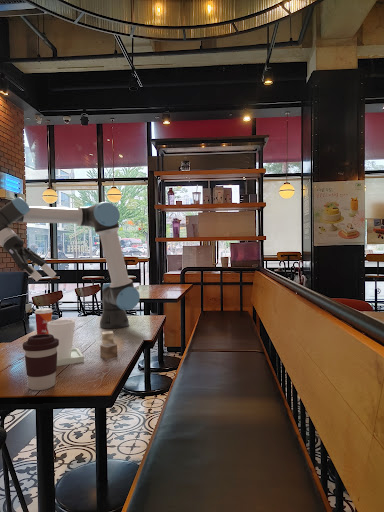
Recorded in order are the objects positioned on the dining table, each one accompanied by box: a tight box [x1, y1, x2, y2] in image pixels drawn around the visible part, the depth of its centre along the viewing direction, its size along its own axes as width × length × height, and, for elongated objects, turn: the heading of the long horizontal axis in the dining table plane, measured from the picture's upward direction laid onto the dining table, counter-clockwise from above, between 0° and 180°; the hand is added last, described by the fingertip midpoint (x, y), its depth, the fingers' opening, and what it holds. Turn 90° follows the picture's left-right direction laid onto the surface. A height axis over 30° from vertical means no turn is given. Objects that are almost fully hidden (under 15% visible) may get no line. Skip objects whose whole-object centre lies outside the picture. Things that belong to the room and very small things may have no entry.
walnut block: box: [99, 343, 118, 360], centre depth 134 cm, size 4×4×4 cm
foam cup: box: [47, 318, 76, 359], centre depth 131 cm, size 10×9×13 cm
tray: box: [57, 347, 85, 367], centre depth 131 cm, size 13×13×2 cm
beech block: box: [101, 330, 115, 345], centre depth 155 cm, size 4×4×4 cm
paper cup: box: [34, 307, 53, 335], centre depth 162 cm, size 8×8×14 cm
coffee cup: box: [22, 334, 59, 391], centre depth 106 cm, size 10×10×15 cm
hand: (47, 277), depth 145 cm, fingers open, 13 cm apart
